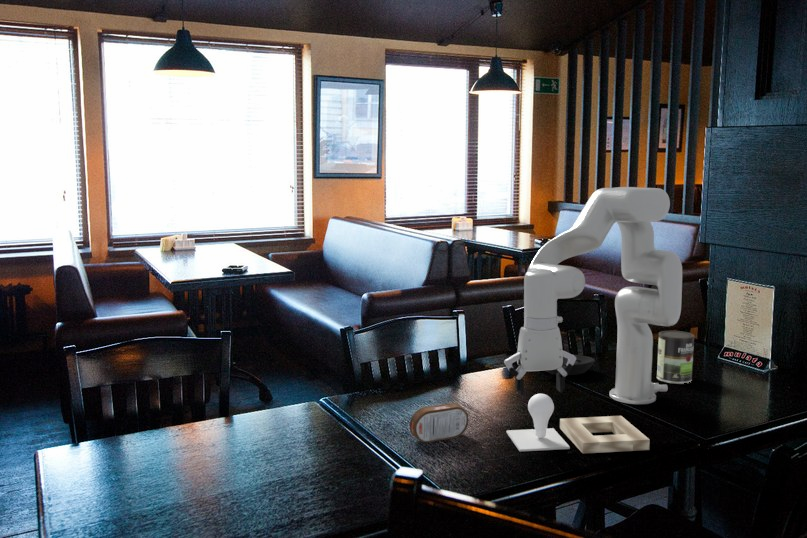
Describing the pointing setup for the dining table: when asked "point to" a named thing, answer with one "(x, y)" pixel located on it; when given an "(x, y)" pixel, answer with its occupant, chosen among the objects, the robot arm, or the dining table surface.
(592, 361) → the oil lamp
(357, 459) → the dining table surface
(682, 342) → the coffee can
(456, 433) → the tin
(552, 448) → the rubber mat
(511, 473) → the dining table surface
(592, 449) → the plate
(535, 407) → the lightbulb
